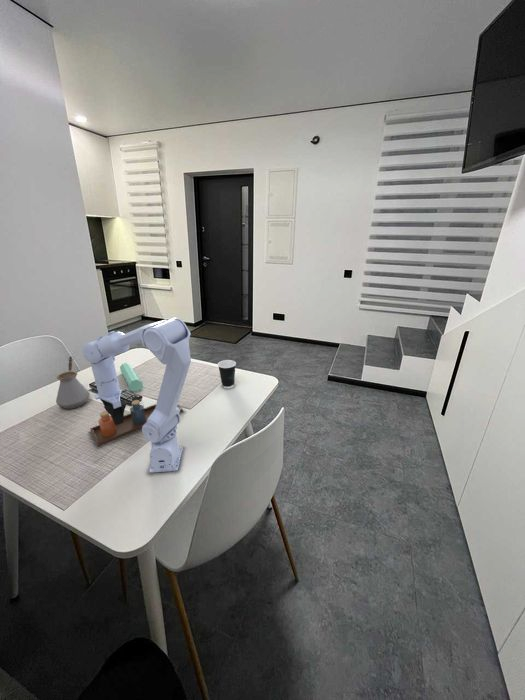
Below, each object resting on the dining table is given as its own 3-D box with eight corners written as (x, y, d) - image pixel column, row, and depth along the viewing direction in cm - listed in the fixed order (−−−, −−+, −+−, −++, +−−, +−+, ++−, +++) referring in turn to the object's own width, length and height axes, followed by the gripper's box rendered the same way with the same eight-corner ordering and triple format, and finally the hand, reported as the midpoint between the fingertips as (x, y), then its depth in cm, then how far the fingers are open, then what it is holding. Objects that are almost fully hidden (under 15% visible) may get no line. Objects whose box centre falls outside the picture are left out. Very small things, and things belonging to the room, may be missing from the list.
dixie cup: (235, 390, 124) (234, 367, 120) (217, 389, 125) (215, 367, 120) (238, 381, 131) (237, 360, 127) (221, 381, 132) (220, 359, 128)
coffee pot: (90, 407, 112) (80, 373, 107) (55, 414, 108) (43, 379, 102) (94, 383, 130) (86, 353, 125) (64, 389, 126) (55, 358, 120)
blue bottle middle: (143, 424, 101) (140, 405, 98) (131, 425, 101) (126, 405, 98) (147, 416, 105) (143, 398, 102) (134, 417, 105) (131, 399, 102)
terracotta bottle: (113, 436, 95) (108, 416, 92) (99, 437, 95) (94, 417, 92) (118, 428, 99) (113, 408, 96) (105, 429, 99) (100, 409, 96)
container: (119, 360, 140) (130, 379, 120) (132, 361, 143) (144, 380, 124) (116, 371, 140) (126, 391, 121) (129, 372, 144) (141, 392, 125)
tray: (171, 401, 116) (171, 398, 115) (183, 412, 109) (182, 409, 108) (91, 432, 98) (90, 428, 97) (98, 447, 91) (97, 443, 90)
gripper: (85, 374, 86) (95, 412, 91) (97, 393, 76) (108, 434, 81) (110, 367, 90) (119, 404, 95) (124, 384, 80) (133, 424, 85)
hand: (115, 417), depth 89 cm, fingers open, 7 cm apart
